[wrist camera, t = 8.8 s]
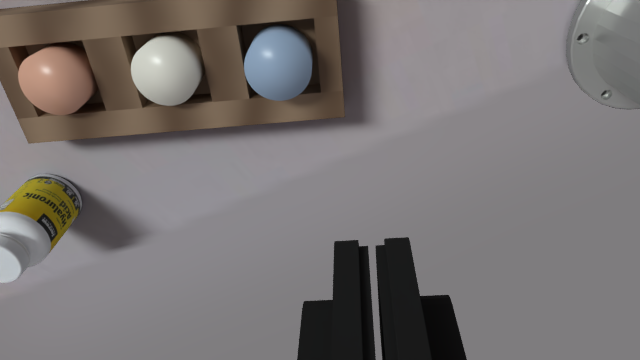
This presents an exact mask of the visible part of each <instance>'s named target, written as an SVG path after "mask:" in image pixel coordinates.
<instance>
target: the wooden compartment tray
mask: <svg viewBox="0 0 640 360" xmlns="http://www.w3.org/2000/svg"><path fill="white" fill-rule="evenodd" d="M275 24H285V25H289V26H292V27H294V28H296V29H298V30H299V31H300V32H302V33H303V34H304V35H305V37H306V38H307V39H308V41H309V43H310V45H311V48H312V54H313V60H312V74H311V78H310V81H309V83H308V85H307V87H306V88H305V89H304V91H303V92H302V93H300V94H299V95H298V96H296V97H294V98H292V99H289V100H283V101H276V100H270V99H267V98H265V97H263V96H261V95H259V94H258V93H257V92H256V91H255V90H254V89H253V88H252V87H251V86H250V84H249V83H248V81H247V78H246V76H245V72H244V61H245V57H246V54H247V52H248V50H249V48H250V45H251V43H252V41H253V39H254V37H255V36H256V35H257V34H258V33H259V32H260V31H261V30H262V29H264V28H266V27H268V26H271V25H275ZM163 32H177V33H181V34H183V35H185V36H187V37H189V38H190V39H192V40H193V41H194V42H195V43H196V44H197V45H198V46H199V48H200V49H201V52H202V57H203V61H204V66H205V74H204V77H203V79H202V80H201V82H200V83H199V85H198V87H197V88H196V90H195V91H194V93H193V94H192V96H191V97H190V98H189V99H188V100H187V101H185V102H183V103H181V104H178V105H174V106H165V105H160V104H157V103H155V102H152V101H151V100H149V99H147V98H146V97H145V96H144V95H143V94H142V93H141V92H140V91H139V90H138V89H137V87H136V85H135V84H134V81H133V79H132V75H131V63H132V59H133V57H134V55H135V54H136V52H137V51H138V50H139V49H140V48H141V47H142V46H144V45H145V44H146V43H147V42H148V41H149V40H150V39H152V38H153V37H154V36H156V35H158V34H160V33H163ZM56 42H68V43H72V44H75V45H77V46H79V47H81V48H83V49H84V50H85V51H86V53H87V56H88V59H89V62H90V65H91V68H92V71H93V73H94V76H95V79H96V82H97V85H98V88H99V89H98V91H97V92H96V94H95V95H94V96H92V97H91V98H90V99H89V100H88V101H87V102H86V103H85V104H84V105H82V106H81V107H80V108H79V109H78V110H77V111H75V112H73V113H71V114H68V115H54V114H50V113H47V112H45V111H43V110H41V109H39V108H38V107H36V106H35V105H34V104H32V103H31V102H30V101H29V100H28V99H27V97H26V96H25V95H24V93H23V91H22V89H21V87H20V84H19V80H18V72H19V68H20V65H21V64H22V62H23V61H24V60H25V59H26V58H27V57H29V56H31V55H33V54H34V53H36V52H38V51H40V50H41V49H43V48H45V47H47V46H48V45H50V44H53V43H56ZM0 81H1V84H2V86H3V88H4V90H5V92H6V95H7V97H8V99H9V101H10V103H11V106H12V108H13V110H14V112H15V114H16V117H17V119H18V121H19V123H20V125H21V128H22V130H23V132H24V134H25V136H26V139H27V141H28V143H40V142H52V141H64V140H76V139H88V138H100V137H112V136H124V135H136V134H148V133H160V132H172V131H184V130H196V129H208V128H220V127H232V126H244V125H256V124H268V123H280V122H292V121H304V120H316V119H328V118H340V117H345V111H344V97H343V83H342V69H341V55H340V41H339V27H338V13H337V0H88V1H78V2H68V3H58V4H47V5H37V6H27V7H17V8H7V9H0Z"/></svg>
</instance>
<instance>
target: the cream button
mask: <svg viewBox="0 0 640 360" xmlns="http://www.w3.org/2000/svg"><path fill="white" fill-rule="evenodd" d="M204 74H205V66H204V61H203V57H202V52H201V49H200V48H199V46H198V45H197V44H196V43H195V42H194V41H193V40H192V39H190V38H189V37H187V36H185V35H183V34H181V33H177V32H163V33H160V34H158V35H156V36H154V37H153V38H152V39H150V40H149V41H148V42H147V43H146V44H145V45H144V46H142V47H141V48H140V49H139V50H138V51H137V52H136V54H135V55H134V57H133V59H132V63H131V75H132V79H133V81H134V84H135V85H136V87H137V89H138V90H139V91H140V92H141V93H142V94H143V95H144V96H145V97H146V98H147V99H149V100H151V101H152V102H155V103H157V104H160V105H165V106H174V105H178V104H181V103H183V102H185V101H187V100H188V99H189V98H190V97H191V96H192V94H193V93H194V91H195V90H196V88H197V87H198V85H199V83H200V82H201V80H202V79H203V77H204Z"/></svg>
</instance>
